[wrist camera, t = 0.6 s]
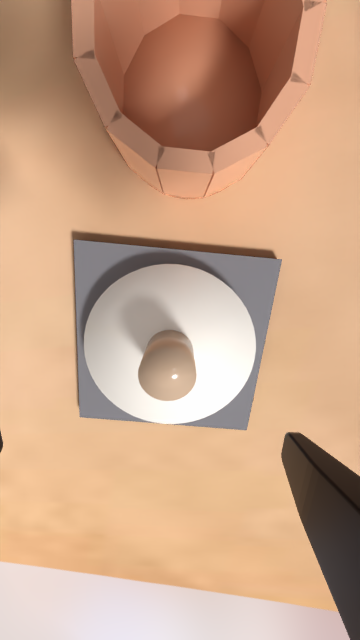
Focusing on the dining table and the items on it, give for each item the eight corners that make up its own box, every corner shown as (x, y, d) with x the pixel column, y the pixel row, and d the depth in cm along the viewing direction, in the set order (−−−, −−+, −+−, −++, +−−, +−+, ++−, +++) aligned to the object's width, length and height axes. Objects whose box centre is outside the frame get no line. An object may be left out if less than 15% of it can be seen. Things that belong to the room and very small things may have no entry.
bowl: (282, 22, 14) (355, -140, 8) (253, 206, 17) (291, 182, 11) (114, 2, 14) (66, -180, 8) (112, 192, 16) (75, 160, 11)
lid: (265, 272, 17) (295, 279, 13) (237, 419, 21) (253, 466, 16) (88, 255, 17) (54, 256, 12) (91, 408, 20) (65, 452, 16)
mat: (277, 259, 18) (281, 259, 17) (244, 423, 22) (246, 430, 21) (78, 240, 17) (73, 239, 16) (83, 411, 21) (79, 417, 21)
